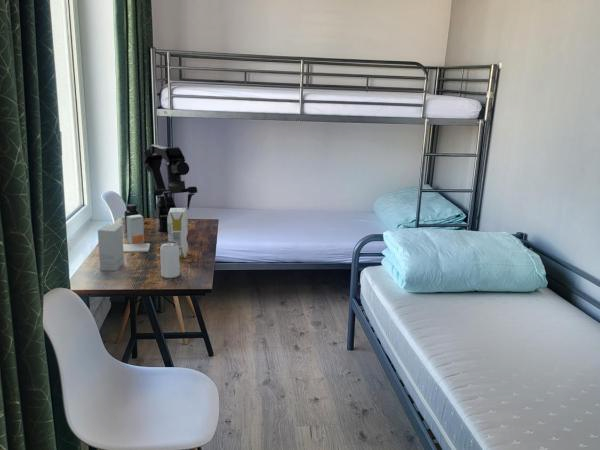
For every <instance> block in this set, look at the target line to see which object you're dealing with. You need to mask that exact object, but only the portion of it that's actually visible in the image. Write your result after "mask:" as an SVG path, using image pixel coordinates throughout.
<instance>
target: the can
mask: <svg viewBox="0 0 600 450" xmlns="http://www.w3.org/2000/svg"><path fill="white" fill-rule="evenodd" d="M177 244H178V243H177V242H173V241H168V240H167V241H164V242H161V245H160V248H159V250H160V251H159V252H160V271H161V273H160V274H161V277H162V278H165V279H174V278H178V277H179V276H180V273H181V271H180V270H181V267H180V258H179V246H178V245H177Z"/></svg>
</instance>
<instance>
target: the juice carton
mask: <svg viewBox="0 0 600 450" xmlns="http://www.w3.org/2000/svg"><path fill="white" fill-rule="evenodd" d="M188 218H189V217H188V212H187V208H186V207H176V208H170V211H169V213H168V217H167V224H168V231H167V242H168V241H173V242H177V243H178V244H177V245H178V246H179V259H185V258H187V255H188V252H189V219H188Z"/></svg>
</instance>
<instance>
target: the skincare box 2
mask: <svg viewBox="0 0 600 450" xmlns="http://www.w3.org/2000/svg"><path fill="white" fill-rule="evenodd" d="M126 219H127V231H126V236H127V244H142V243H145V233H144V232H145V227H144V224H145V223H144V216H143V215H141V214H140V215H132V216H126Z"/></svg>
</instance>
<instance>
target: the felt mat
mask: <svg viewBox="0 0 600 450" xmlns="http://www.w3.org/2000/svg"><path fill="white" fill-rule="evenodd" d="M150 247H151V243H149V242H148V243H145V242H144V243H139V244H129V243H123V252H124V253H144V252H150Z"/></svg>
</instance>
